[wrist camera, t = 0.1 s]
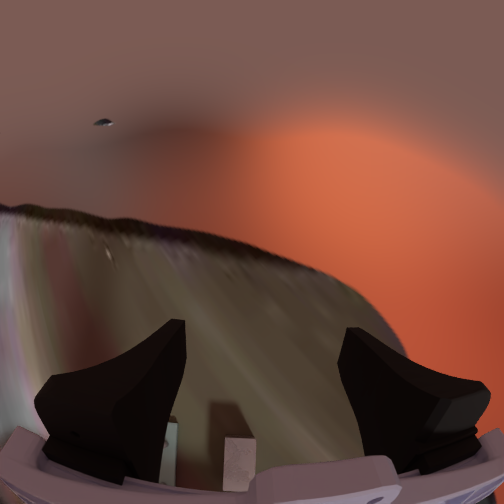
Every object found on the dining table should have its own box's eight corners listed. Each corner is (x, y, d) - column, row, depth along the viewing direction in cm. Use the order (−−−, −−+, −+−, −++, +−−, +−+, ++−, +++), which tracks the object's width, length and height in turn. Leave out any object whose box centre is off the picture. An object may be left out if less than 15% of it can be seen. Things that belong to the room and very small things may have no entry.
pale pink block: (251, 483, 32) (254, 491, 28) (223, 482, 32) (222, 490, 27) (253, 435, 36) (256, 438, 32) (225, 434, 36) (225, 437, 32)
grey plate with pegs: (174, 504, 29) (170, 511, 26) (112, 490, 28) (103, 494, 25) (178, 423, 36) (173, 424, 33) (115, 411, 36) (107, 410, 33)
